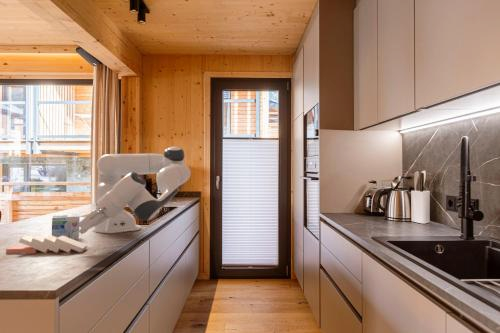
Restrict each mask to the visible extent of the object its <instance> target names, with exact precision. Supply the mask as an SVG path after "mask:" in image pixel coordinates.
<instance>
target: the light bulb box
mask: <svg viewBox="0 0 500 333" xmlns="http://www.w3.org/2000/svg"><path fill="white" fill-rule="evenodd" d="M79 223H80V214H79V213H78V214H61V215H60V214H59V215H58V214H57V215H52V218H51V235H52V236H54V237H57V238H58V237H60V236H62V235H63V236H66V237H68V238H71V239H73V240H79V239H80V232H79V230H80V227H79V225H78V224H79Z"/></svg>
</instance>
